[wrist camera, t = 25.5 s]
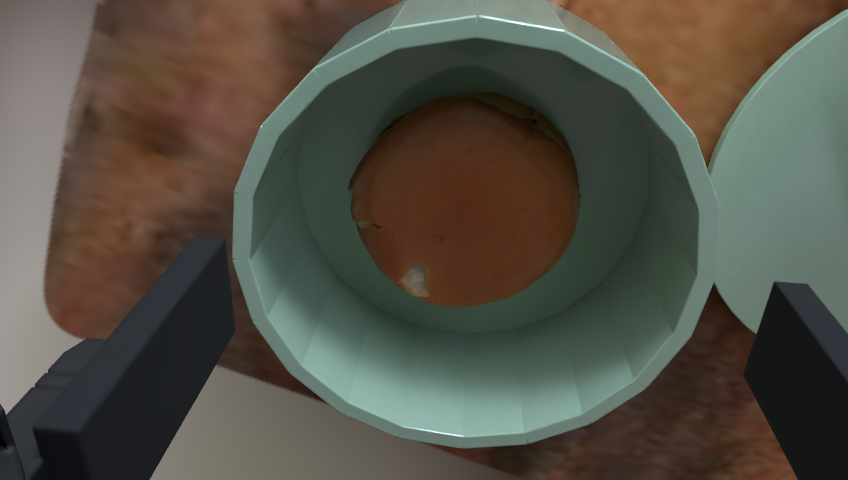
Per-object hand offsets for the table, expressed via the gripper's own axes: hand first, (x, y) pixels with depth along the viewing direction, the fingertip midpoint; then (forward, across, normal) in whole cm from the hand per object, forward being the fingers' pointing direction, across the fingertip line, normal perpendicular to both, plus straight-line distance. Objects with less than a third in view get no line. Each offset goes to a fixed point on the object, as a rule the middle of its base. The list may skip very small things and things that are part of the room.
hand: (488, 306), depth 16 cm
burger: (+15, -1, -3) cm, 15 cm away
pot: (+15, -1, -3) cm, 16 cm away
